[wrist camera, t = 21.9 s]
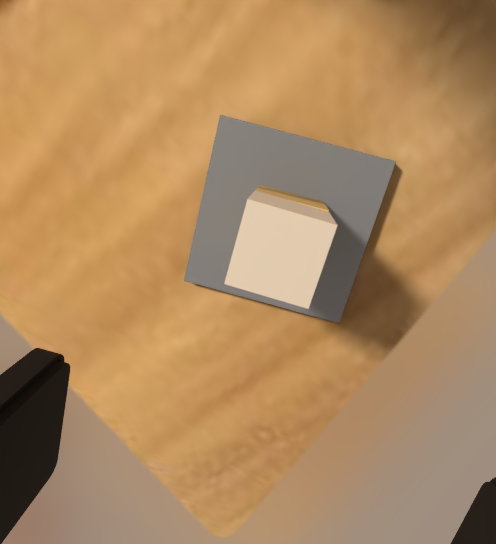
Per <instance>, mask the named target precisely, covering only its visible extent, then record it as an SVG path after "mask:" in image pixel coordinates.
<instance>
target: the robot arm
mask: <svg viewBox="0 0 496 544" xmlns="http://www.w3.org/2000/svg"><path fill="white" fill-rule="evenodd" d="M69 374H70V365H69V364H68V363H65V362H64V356H63V355H61V354H58V353H54V352H51V351H47V350H44V349H40V348H35V349H34V350H32V351H31V352H29V353H28V354H27V355H26V356H25V357H23V358H22V359H21V360H19V361H18V362H17V363H15V364H14V365H13V366H12V367H10V368H9V369H8V370H6V371H5V372H4V373H3V374H1V375H0V544H1V543H2V542H3V540H4V539H5V538H6V537H7V535H8V534H9V532H10V531H11V530H12V528H13V527H14V526H15V524H16V523H17V522H18V520H19V519H20V517H21V516H22V515H23V513H24V512H25V511H26V509H27V508H28V507H29V505H30V504H31V503H32V501H33V500H34V498H35V497H36V496H37V494H38V493H39V491H40V490H41V489H42V487H43V486H44V485H45V483H46V482H47V481H48V479H49V478H50V476H51V475H52V473H53V471H54V469H55V467H56V463H57V460H58V453H59V446H60V439H61V431H62V424H63V416H64V410H65V402H66V396H67V388H68V381H69ZM451 544H496V478H494V479H492V480H491V481H490V482H485V483H484V484H483V485H482V487H481V488H480V490H479V492H478V494H477V496H476V498H475V500H474V501H473V503H472V505H471V507H470V509H469V511H468V513H467V515H466V516H465V518H464V520H463V522H462V524H461V526H460V528H459V529H458V531H457V533H456V535H455V537H454V539H453V540H452V542H451Z"/></svg>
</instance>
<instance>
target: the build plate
mask: <svg viewBox="0 0 496 544" xmlns="http://www.w3.org/2000/svg"><path fill="white" fill-rule="evenodd" d="M395 163H396V161H392V160H389V159H385V158H381V157H377V156H374V155H370V154H366V153H362V152H358V151H355V150H351V149H347V148H343V147H340V146H336V145H332V144H328V143H325V142H321V141H317V140H313V139H310V138H306V137H302V136H298V135H295V134H291V133H287V132H283V131H279V130H276V129H272V128H268V127H264V126H261V125H257V124H253V123H249V122H246V121H242V120H238V119H234V118H231V117H227V116H223V115H220V118H219V123H218V127H217V132H216V136H215V141H214V146H213V150H212V155H211V159H210V164H209V169H208V173H207V178H206V182H205V187H204V191H203V196H202V201H201V205H200V210H199V214H198V219H197V223H196V228H195V233H194V237H193V242H192V246H191V251H190V256H189V260H188V265H187V269H186V274H185V278H184V281H187V282H191V283H195V284H198V285H202V286H206V287H209V288H213V289H217V290H220V291H224V292H227V293H231V294H235V295H238V296H242V297H246V298H249V299H253V300H256V301H260V302H264V303H267V304H271V305H275V306H278V307H282V308H286V309H289V310H293V311H296V312H300V313H304V314H307V315H311V316H315V317H318V318H322V319H326V320H329V321H333V322H336V323H339V322H340V319H341V317H342V314H343V311H344V308H345V305H346V302H347V300H348V297H349V294H350V291H351V288H352V285H353V282H354V280H355V277H356V274H357V271H358V268H359V265H360V263H361V260H362V257H363V254H364V251H365V248H366V245H367V243H368V240H369V237H370V234H371V231H372V228H373V226H374V223H375V220H376V217H377V214H378V211H379V208H380V206H381V203H382V200H383V197H384V194H385V191H386V189H387V186H388V183H389V180H390V177H391V174H392V171H393V169H394V166H395ZM259 185H262V186H266V187H270V188H273V189H277V190H281V191H285V192H289V193H293V194H297V195H300V196H304V197H308V198H312V199H316V200H320V201H323V202H324V203H325V205H326V206H327V208H328V209H329V212H330V214H331V216H332V217H333V219H334V220H335V222H336V224H337V225H338V226H337V228H336V231H335V234H334V237H333V240H332V243H331V246H330V249H329V251H328V254H327V257H326V260H325V263H324V266H323V269H322V272H321V274H320V277H319V280H318V283H317V286H316V289H315V292H314V295H313V297H312V300H311V303H310V306H309V309H307V308H303V307H300V306H297V305H293V304H290V303H287V302H283V301H280V300H276V299H273V298H270V297H266V296H263V295H260V294H256V293H253V292H249V291H246V290H243V289H239V288H236V287H233V286H229V285H226V284H224V283H225V279H226V275H227V272H228V268H229V264H230V261H231V257H232V253H233V250H234V246H235V242H236V239H237V235H238V232H239V228H240V224H241V221H242V217H243V213H244V210H245V206H246V202H247V199H248V198H249V197H250V195H251V194H252V193H253V192H254V191H255V190H256V189H257V188H258V187H259Z"/></svg>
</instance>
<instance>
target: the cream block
mask: <svg viewBox="0 0 496 544" xmlns="http://www.w3.org/2000/svg"><path fill="white" fill-rule="evenodd" d="M337 226H338V225H337V224H336V222H335V220H334V219H333V217H332V216H331V214H330V212H328V211H324V210H321V209H317V208H314V207H311V206H307V205H304V204H300V203H297V202H293V201H290V200H287V199H283V198H280V197H276V196H273V195H270V194H266V193H263V192H259V191H256V190H255V191H254V192H253V193H252V194H251V195H250V197H249V198H248V199H247V202H246V206H245V210H244V213H243V217H242V221H241V224H240V228H239V232H238V235H237V239H236V242H235V246H234V250H233V253H232V257H231V261H230V264H229V268H228V272H227V275H226V279H225V283H224V284H226V285H229V286H233V287H236V288H239V289H243V290H246V291H249V292H253V293H256V294H260V295H263V296H266V297H270V298H273V299H276V300H280V301H283V302H287V303H290V304H293V305H297V306H300V307H303V308H307V309H309V306H310V303H311V300H312V297H313V295H314V292H315V289H316V286H317V283H318V280H319V277H320V274H321V272H322V269H323V266H324V263H325V260H326V257H327V254H328V251H329V249H330V246H331V243H332V240H333V237H334V234H335V231H336V228H337Z"/></svg>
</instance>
